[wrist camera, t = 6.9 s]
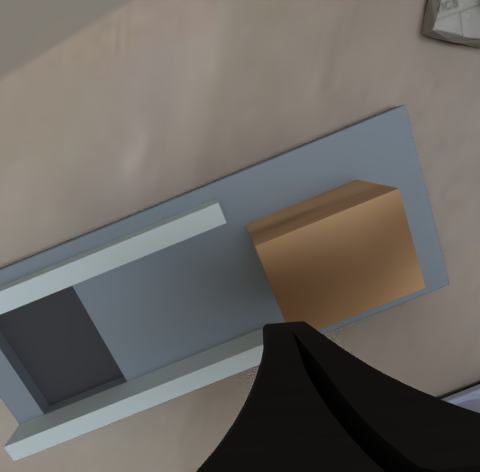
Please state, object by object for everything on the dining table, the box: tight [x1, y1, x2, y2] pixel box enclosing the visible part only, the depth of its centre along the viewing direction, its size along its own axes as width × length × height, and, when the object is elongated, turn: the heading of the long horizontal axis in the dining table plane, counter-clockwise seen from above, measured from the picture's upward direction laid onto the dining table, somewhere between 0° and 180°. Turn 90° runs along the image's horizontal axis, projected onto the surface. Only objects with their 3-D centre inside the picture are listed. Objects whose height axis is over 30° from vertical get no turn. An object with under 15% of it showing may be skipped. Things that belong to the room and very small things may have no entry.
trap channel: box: [0, 105, 449, 461], centre depth 18 cm, size 10×25×2 cm, turn 112°
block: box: [246, 179, 426, 331], centre depth 16 cm, size 4×6×4 cm
